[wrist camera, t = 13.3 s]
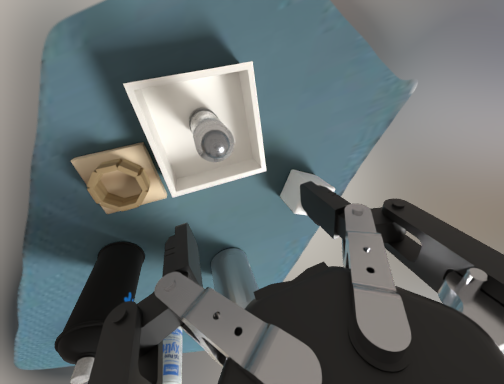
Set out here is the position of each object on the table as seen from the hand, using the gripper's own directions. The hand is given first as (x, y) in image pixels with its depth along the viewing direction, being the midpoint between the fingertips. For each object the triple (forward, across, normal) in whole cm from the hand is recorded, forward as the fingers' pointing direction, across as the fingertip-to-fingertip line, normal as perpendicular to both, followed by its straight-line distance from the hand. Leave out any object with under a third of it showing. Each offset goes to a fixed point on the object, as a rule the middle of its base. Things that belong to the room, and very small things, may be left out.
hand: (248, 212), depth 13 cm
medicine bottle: (+25, -17, +16) cm, 34 cm away
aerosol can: (+26, +23, +19) cm, 39 cm away
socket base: (+25, +15, +3) cm, 29 cm away
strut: (+24, 0, -2) cm, 24 cm away
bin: (+25, 0, -1) cm, 25 cm away
